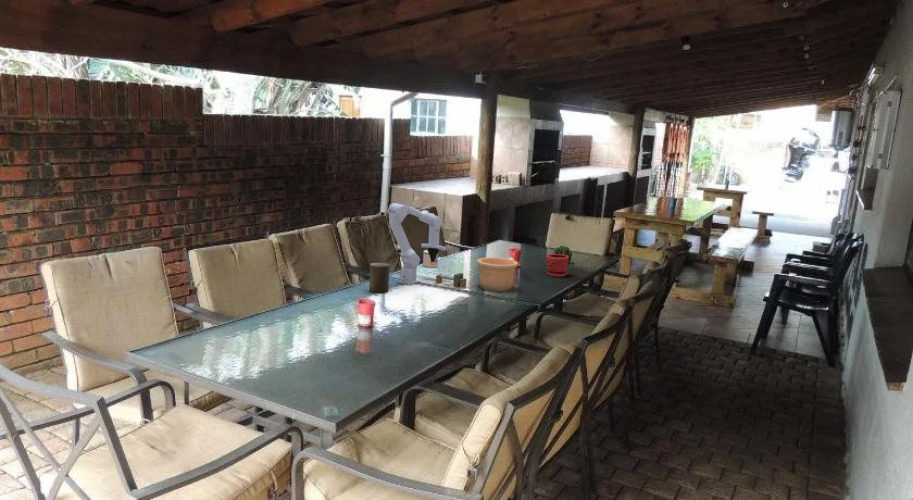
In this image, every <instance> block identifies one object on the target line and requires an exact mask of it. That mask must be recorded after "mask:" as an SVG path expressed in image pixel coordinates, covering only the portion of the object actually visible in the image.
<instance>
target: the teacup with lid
mask: <svg viewBox="0 0 913 500" xmlns="http://www.w3.org/2000/svg"><path fill="white" fill-rule="evenodd" d="M438 256H439V253H438V254H437V256H436V259H435V262H431V259H430V255H429V253H428V251H427V249H425V250H423V257H422V258H423V259H422V260H423V261H422V265H423V267H424V268H431V269H432V268H437V267H438V263H439V261H438V259H439V257H438Z"/></svg>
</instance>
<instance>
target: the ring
mask: <svg viewBox="0 0 913 500" xmlns="http://www.w3.org/2000/svg"><path fill="white" fill-rule="evenodd" d="M453 277H454V280H453V283H452V284H453V286H455V287H458V286H460V282H459V278H460V279H463V278H464V273H463V272H458V273H455V274H453Z"/></svg>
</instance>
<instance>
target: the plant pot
mask: <svg viewBox="0 0 913 500" xmlns="http://www.w3.org/2000/svg"><path fill="white" fill-rule="evenodd" d="M545 258H546V259H545V263H546V268H547V272H546V274H547V275H549V276H550V277H555V278H557V277H558V278H560V277H565V276H567V274H568V273H567V269H568V265H569V262H568V260H569V257H568V256H566V255H559V254H553V253H550V254H547V255H546V257H545ZM564 264H565V265H564Z"/></svg>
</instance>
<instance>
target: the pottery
mask: <svg viewBox="0 0 913 500" xmlns="http://www.w3.org/2000/svg"><path fill="white" fill-rule="evenodd" d="M476 265H478V271H479V273H478V274H479V283H480V288H481V289H484V290H487V291H491V292H492V291H493V292H506V291H510V290H512V285H513V281H514V275H515V270H516V268H518V266H519V262H518V261H517V260H514V259H511V258H505V257H497V256H496V257H495V256H494V257H489V256H488V257H481V258H477V260H476Z"/></svg>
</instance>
